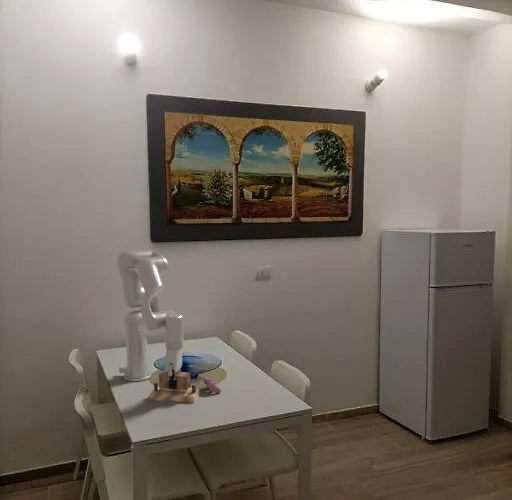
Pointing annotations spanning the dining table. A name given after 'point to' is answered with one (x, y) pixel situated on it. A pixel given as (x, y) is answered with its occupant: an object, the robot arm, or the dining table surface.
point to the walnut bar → (181, 377)
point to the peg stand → (174, 394)
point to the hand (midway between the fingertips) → (174, 385)
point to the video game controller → (211, 385)
